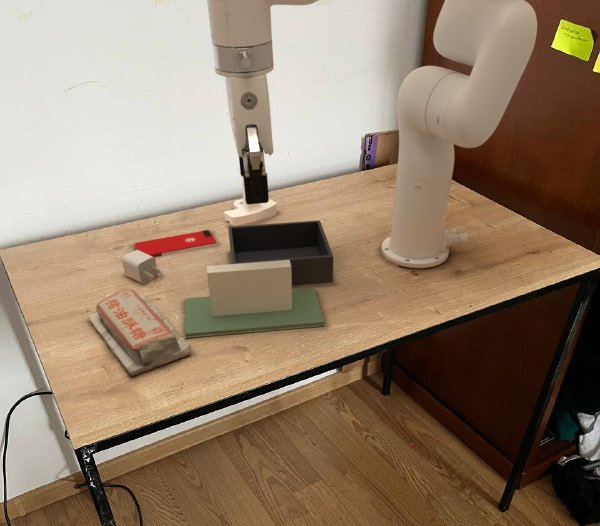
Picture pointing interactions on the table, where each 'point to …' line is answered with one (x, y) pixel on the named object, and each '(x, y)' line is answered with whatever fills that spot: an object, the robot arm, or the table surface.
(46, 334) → the table surface
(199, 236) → the electronic device
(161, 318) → the packaged product
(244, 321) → the mat
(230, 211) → the joystick
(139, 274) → the usb wall charger
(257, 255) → the bin
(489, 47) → the robot arm
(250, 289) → the board
